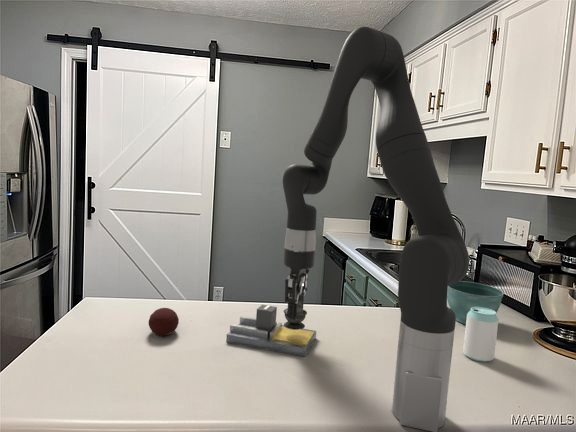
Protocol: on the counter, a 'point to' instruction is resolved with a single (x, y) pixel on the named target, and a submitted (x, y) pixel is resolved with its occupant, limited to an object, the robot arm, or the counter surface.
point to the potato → (163, 321)
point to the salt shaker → (301, 314)
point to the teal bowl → (472, 298)
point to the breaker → (266, 317)
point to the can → (480, 334)
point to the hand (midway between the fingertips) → (295, 313)
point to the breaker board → (271, 337)
